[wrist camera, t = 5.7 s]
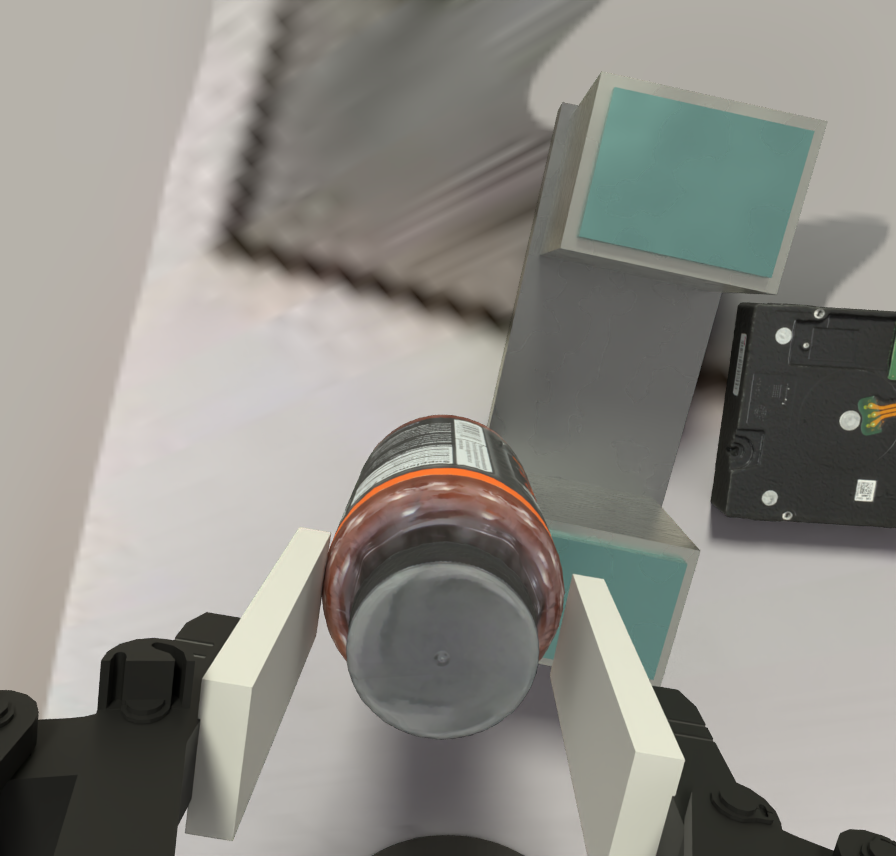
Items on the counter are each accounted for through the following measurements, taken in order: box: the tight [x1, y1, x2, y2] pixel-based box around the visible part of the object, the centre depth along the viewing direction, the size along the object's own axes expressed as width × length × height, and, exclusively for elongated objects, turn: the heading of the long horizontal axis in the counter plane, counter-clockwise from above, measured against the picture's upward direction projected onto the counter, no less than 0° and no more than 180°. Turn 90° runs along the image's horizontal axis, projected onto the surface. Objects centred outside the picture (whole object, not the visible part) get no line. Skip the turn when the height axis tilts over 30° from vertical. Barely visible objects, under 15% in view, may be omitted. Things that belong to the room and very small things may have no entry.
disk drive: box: [711, 303, 896, 528], centre depth 35 cm, size 10×3×15 cm
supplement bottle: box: [322, 415, 565, 739], centre depth 20 cm, size 6×6×11 cm
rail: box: [487, 72, 827, 687], centre depth 31 cm, size 23×9×9 cm, turn 168°
